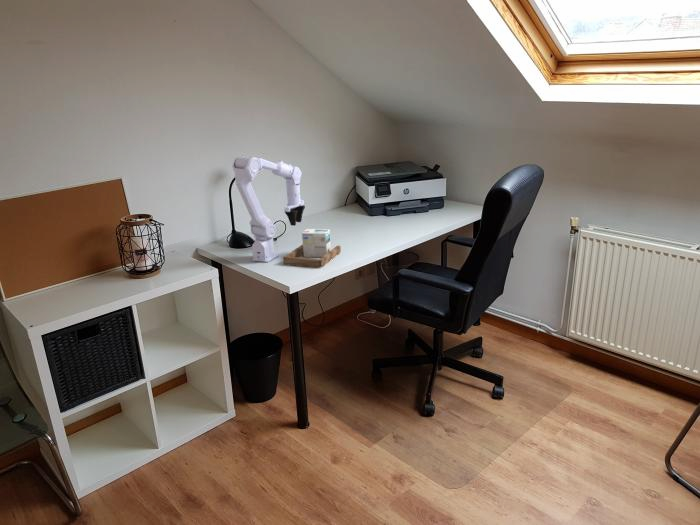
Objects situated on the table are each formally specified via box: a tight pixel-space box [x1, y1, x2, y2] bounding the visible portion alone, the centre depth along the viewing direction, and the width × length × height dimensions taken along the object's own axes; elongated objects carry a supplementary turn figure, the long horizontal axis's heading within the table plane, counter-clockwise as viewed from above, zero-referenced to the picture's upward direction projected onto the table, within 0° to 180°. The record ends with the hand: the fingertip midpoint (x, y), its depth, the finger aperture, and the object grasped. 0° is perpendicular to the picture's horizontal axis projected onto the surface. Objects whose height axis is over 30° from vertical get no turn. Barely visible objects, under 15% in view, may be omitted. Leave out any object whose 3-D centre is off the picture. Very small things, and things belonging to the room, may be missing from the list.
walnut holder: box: [282, 243, 342, 268], centre depth 243 cm, size 20×17×3 cm
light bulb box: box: [301, 228, 332, 258], centre depth 245 cm, size 11×7×11 cm, turn 77°
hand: (296, 223), depth 257 cm, fingers open, 5 cm apart
